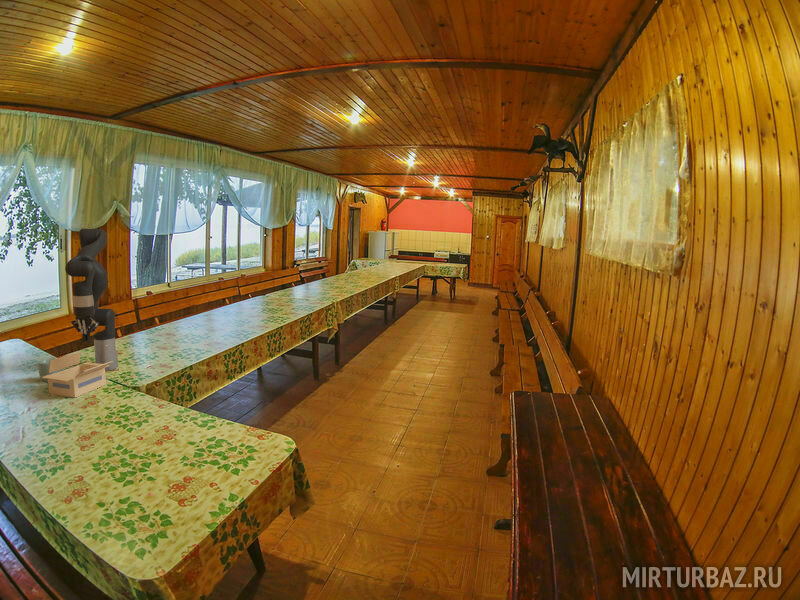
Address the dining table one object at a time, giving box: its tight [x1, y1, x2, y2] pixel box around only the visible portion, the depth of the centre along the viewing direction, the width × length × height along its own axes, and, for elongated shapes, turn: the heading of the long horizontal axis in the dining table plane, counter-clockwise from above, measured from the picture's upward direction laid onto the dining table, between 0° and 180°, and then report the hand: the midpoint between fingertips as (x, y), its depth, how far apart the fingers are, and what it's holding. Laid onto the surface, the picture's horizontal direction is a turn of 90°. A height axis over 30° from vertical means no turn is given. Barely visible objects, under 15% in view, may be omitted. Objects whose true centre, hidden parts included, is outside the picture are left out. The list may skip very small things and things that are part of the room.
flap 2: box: [76, 361, 113, 377], centre depth 192 cm, size 15×6×1 cm
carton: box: [40, 361, 110, 399], centre depth 195 cm, size 22×14×9 cm, turn 170°
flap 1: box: [49, 351, 82, 373], centre depth 195 cm, size 15×6×1 cm
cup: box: [37, 358, 61, 383], centre depth 203 cm, size 8×8×10 cm
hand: (86, 341), depth 191 cm, fingers closed
